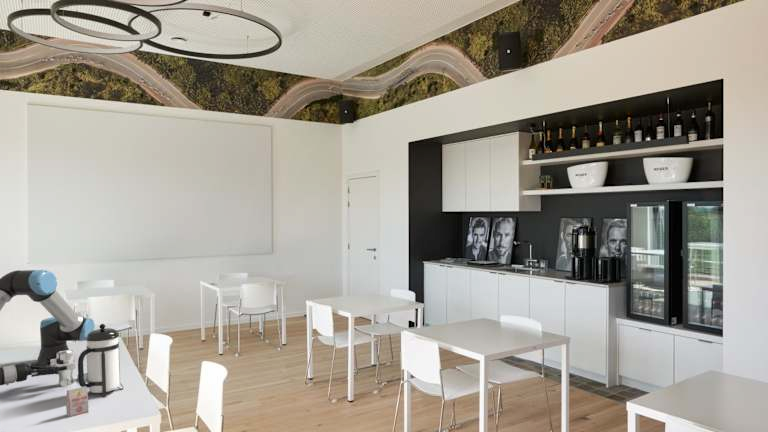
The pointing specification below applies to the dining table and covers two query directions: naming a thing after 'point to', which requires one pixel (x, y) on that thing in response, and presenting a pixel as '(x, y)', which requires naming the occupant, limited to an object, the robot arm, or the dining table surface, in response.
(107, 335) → the coffee press
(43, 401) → the dining table surface
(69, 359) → the beer glass
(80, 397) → the printed carton
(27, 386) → the dining table surface
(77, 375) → the block
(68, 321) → the robot arm
